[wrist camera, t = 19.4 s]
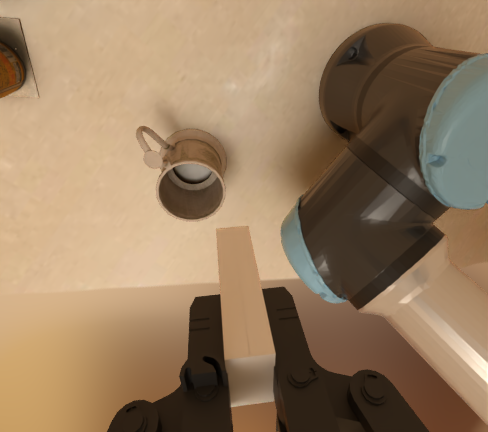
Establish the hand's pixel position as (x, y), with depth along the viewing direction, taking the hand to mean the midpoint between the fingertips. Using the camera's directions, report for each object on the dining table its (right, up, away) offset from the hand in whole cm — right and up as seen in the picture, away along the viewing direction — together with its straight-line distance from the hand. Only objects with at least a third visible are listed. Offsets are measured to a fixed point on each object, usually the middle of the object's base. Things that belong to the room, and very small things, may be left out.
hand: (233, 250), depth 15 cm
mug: (-8, +11, +31) cm, 34 cm away
